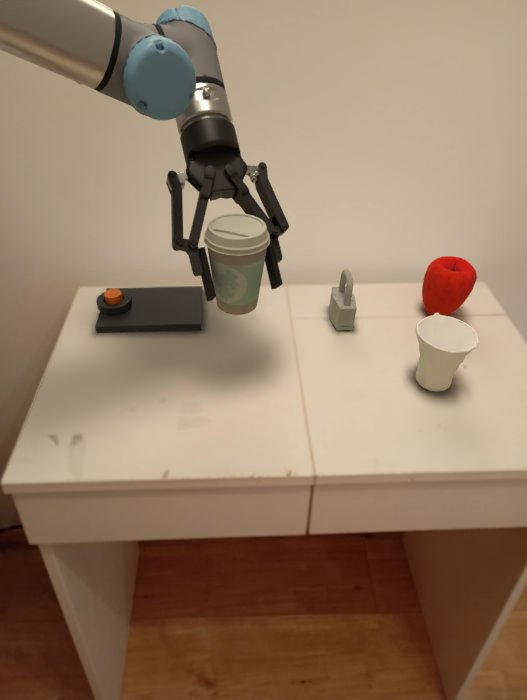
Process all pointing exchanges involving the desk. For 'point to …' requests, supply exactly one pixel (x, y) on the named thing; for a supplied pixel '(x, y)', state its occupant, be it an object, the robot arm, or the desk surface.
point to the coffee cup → (237, 260)
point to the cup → (442, 349)
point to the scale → (151, 310)
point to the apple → (447, 284)
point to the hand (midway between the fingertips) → (244, 292)
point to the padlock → (343, 303)
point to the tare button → (113, 296)
